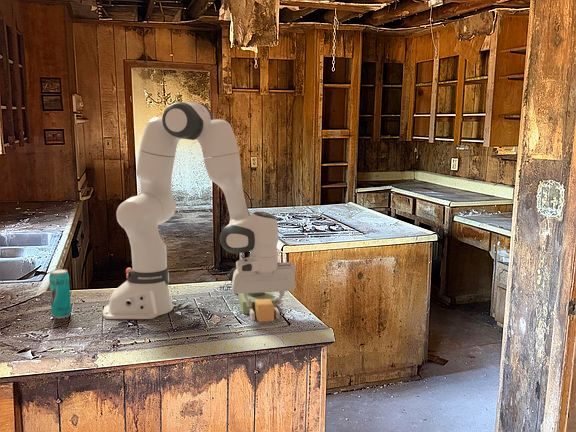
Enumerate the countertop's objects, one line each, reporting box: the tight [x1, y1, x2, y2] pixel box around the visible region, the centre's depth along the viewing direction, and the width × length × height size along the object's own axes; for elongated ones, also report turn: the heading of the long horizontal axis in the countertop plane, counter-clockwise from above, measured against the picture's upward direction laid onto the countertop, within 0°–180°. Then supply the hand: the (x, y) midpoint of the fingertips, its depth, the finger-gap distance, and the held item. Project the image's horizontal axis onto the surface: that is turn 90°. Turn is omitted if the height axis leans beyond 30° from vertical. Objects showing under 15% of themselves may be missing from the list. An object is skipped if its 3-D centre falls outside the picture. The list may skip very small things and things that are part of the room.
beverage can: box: [48, 268, 72, 320], centre depth 171 cm, size 6×6×15 cm
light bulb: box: [228, 266, 237, 283], centre depth 196 cm, size 6×6×10 cm
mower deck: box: [237, 292, 281, 322], centre depth 179 cm, size 11×20×9 cm, turn 12°
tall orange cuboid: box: [254, 299, 275, 323], centre depth 172 cm, size 5×7×5 cm
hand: (263, 304), depth 172 cm, fingers open, 8 cm apart
